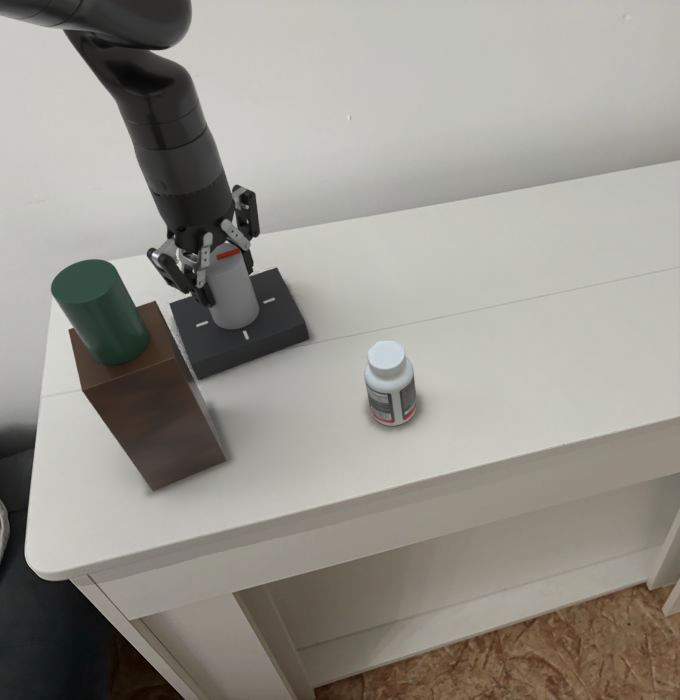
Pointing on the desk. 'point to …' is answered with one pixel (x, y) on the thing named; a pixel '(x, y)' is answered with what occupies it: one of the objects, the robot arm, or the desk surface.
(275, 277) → the dark grey panel
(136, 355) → the tea tin
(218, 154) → the robot arm
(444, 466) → the desk surface
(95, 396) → the stand
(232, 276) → the grey round cylinder
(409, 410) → the pill bottle
